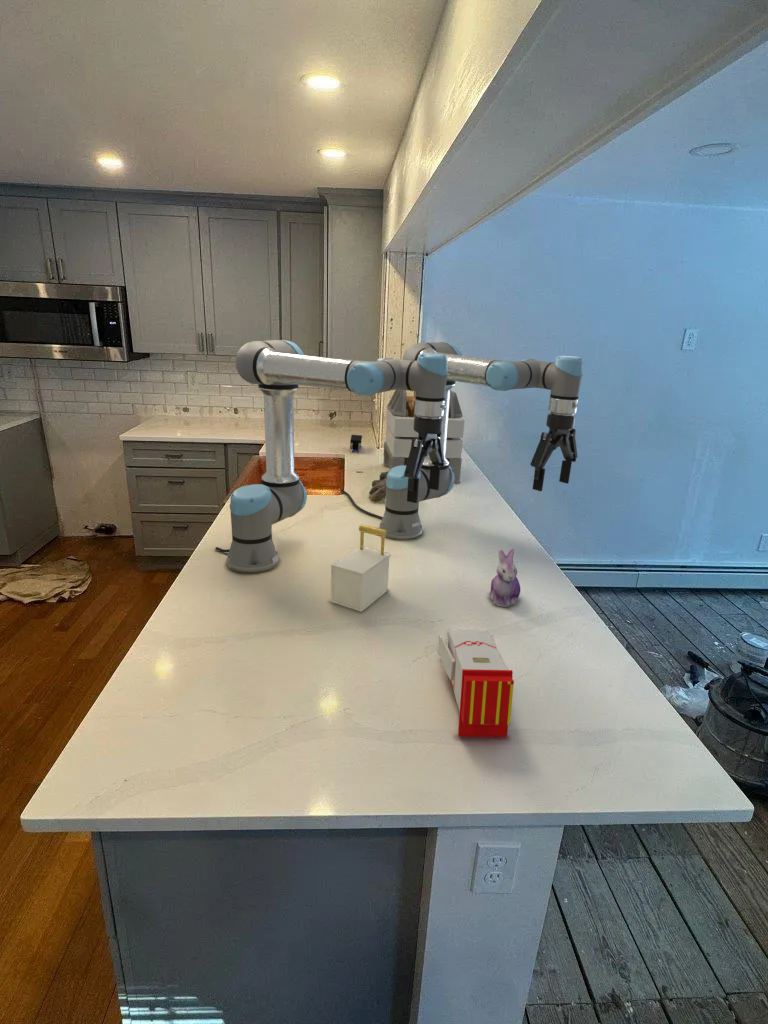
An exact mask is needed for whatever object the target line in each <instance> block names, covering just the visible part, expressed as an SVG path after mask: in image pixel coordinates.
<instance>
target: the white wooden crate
mask: <svg viewBox="0 0 768 1024" xmlns="http://www.w3.org/2000/svg"><path fill="white" fill-rule="evenodd" d="M407 394H408V393H407V390H398V389H396V390H394V392H393V394H392V395H391V398H390V400H389V402H388V404H387V405H386V413H385V414H386V415H385V423H386V428H385V438H384V442H383V466H384V467H388V468H389V470H390V469H392V468H394V467H396V466H401V465H404V466H405V465H407V461H408V457H409V453H410V450H411V443H412V439H413V438H414V439H418V435H419V434H418V432H415V431H414V429H413V428H414V417H415V416H416V415H415V414H414V410H415V397H416V395H414V396H413V395H412V396H411V395H407ZM464 429H465V419H464V418H463V411H462V408H461V405H460V402H459V398H458V395H457V392H455V391H453V390H452V389H451V390H450V402H449V415H448V428H447V441H446V454H445V458H446V459H447V460H448V462H449V466H450V467H451V469H452V472H453V473H454V484H455V483H456V484H459V483H461V472H462V461H463V460H462V453H463V442H464V441H463V440H462V439H463V438H464V431H465V430H464Z"/></svg>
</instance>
